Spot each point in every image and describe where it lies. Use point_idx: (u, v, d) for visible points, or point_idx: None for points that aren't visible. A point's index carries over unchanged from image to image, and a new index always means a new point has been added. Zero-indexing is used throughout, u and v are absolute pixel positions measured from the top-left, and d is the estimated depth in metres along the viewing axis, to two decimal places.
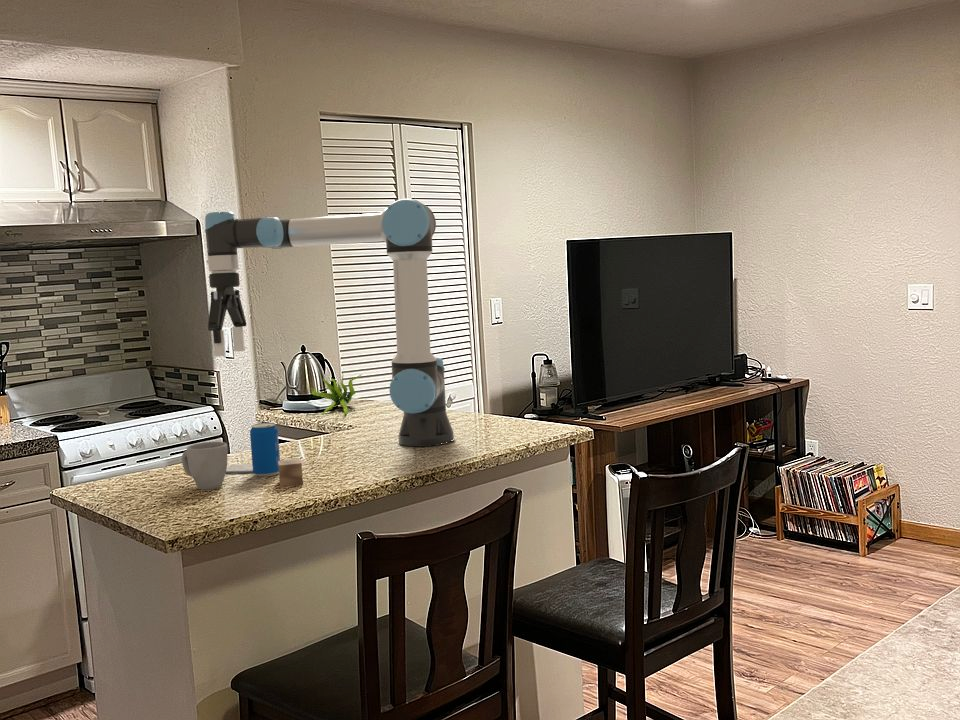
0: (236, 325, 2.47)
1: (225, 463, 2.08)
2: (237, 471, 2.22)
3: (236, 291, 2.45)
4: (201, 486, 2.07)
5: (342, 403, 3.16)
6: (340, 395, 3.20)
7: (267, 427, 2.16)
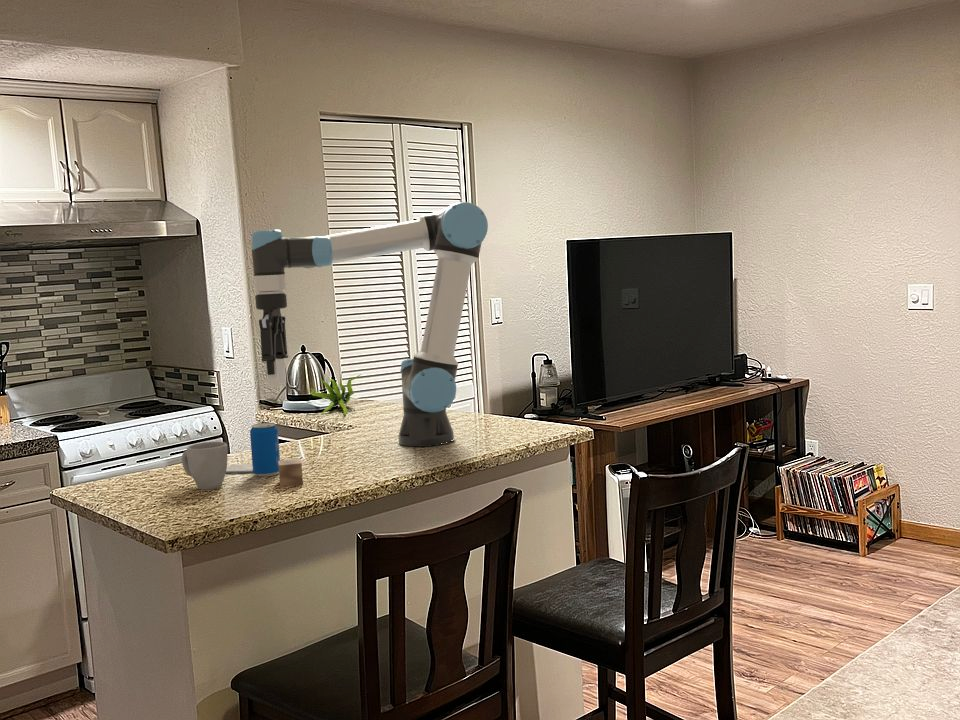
0: (277, 357, 2.32)
1: (225, 463, 2.08)
2: (237, 471, 2.22)
3: (282, 317, 2.34)
4: (201, 486, 2.07)
5: (341, 403, 3.15)
6: (338, 395, 3.19)
7: (267, 427, 2.16)
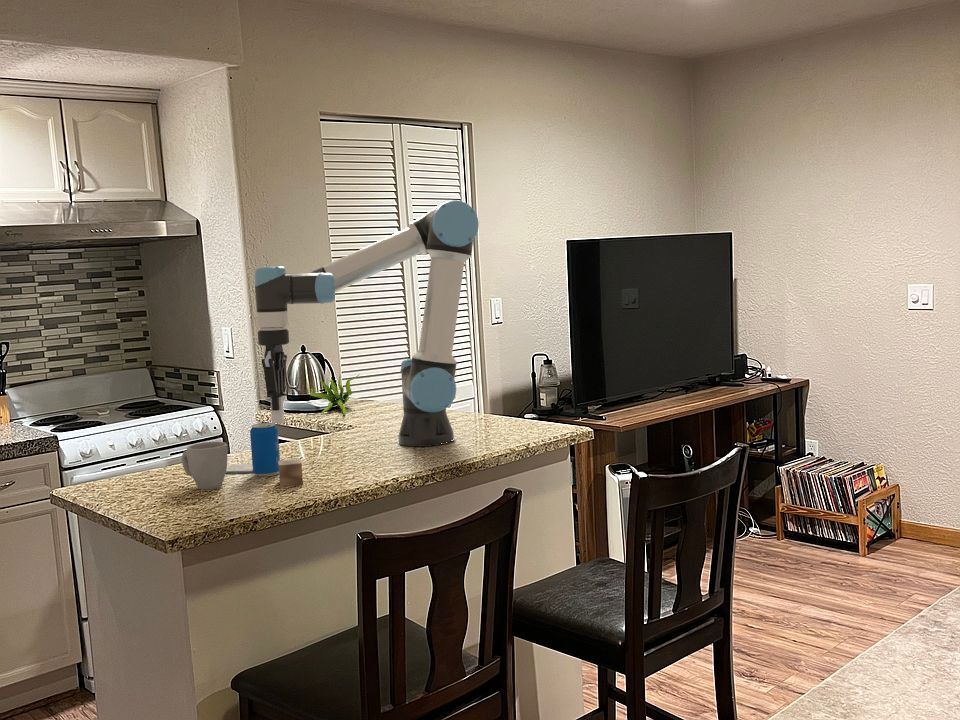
0: None
1: (225, 463, 2.08)
2: (237, 471, 2.22)
3: (284, 355, 2.34)
4: (201, 486, 2.07)
5: (340, 403, 3.15)
6: (337, 396, 3.19)
7: (267, 427, 2.16)
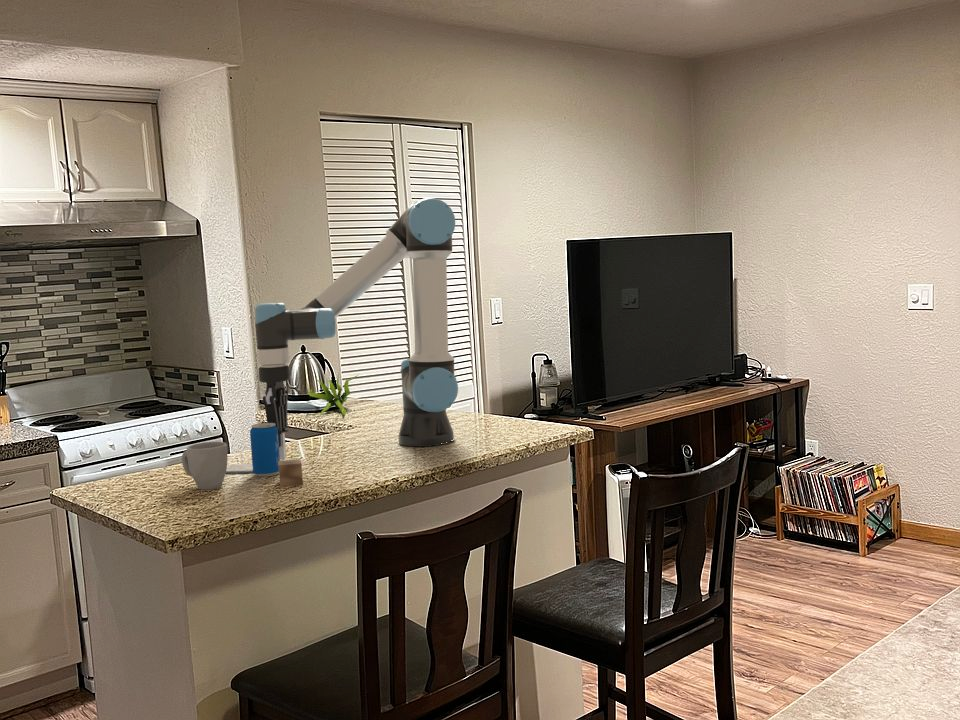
0: None
1: (225, 463, 2.08)
2: (237, 471, 2.22)
3: (285, 390, 2.34)
4: (201, 486, 2.07)
5: (338, 404, 3.15)
6: (335, 396, 3.18)
7: (267, 427, 2.16)
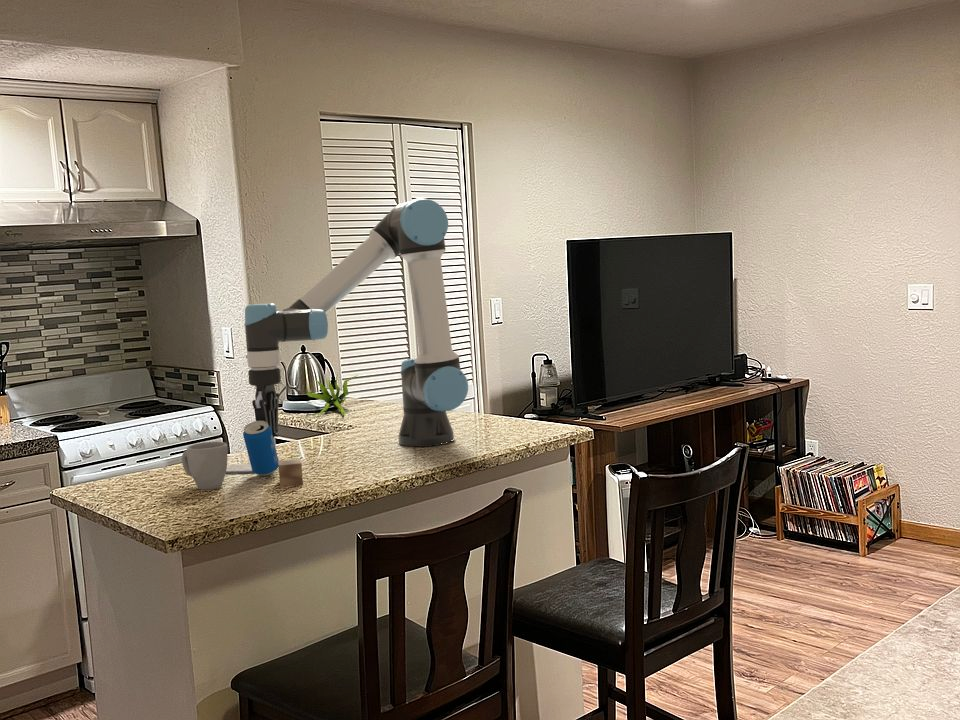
0: None
1: (225, 463, 2.08)
2: (237, 471, 2.22)
3: (276, 393, 2.27)
4: (201, 486, 2.07)
5: (337, 404, 3.14)
6: (334, 396, 3.18)
7: (260, 432, 2.12)
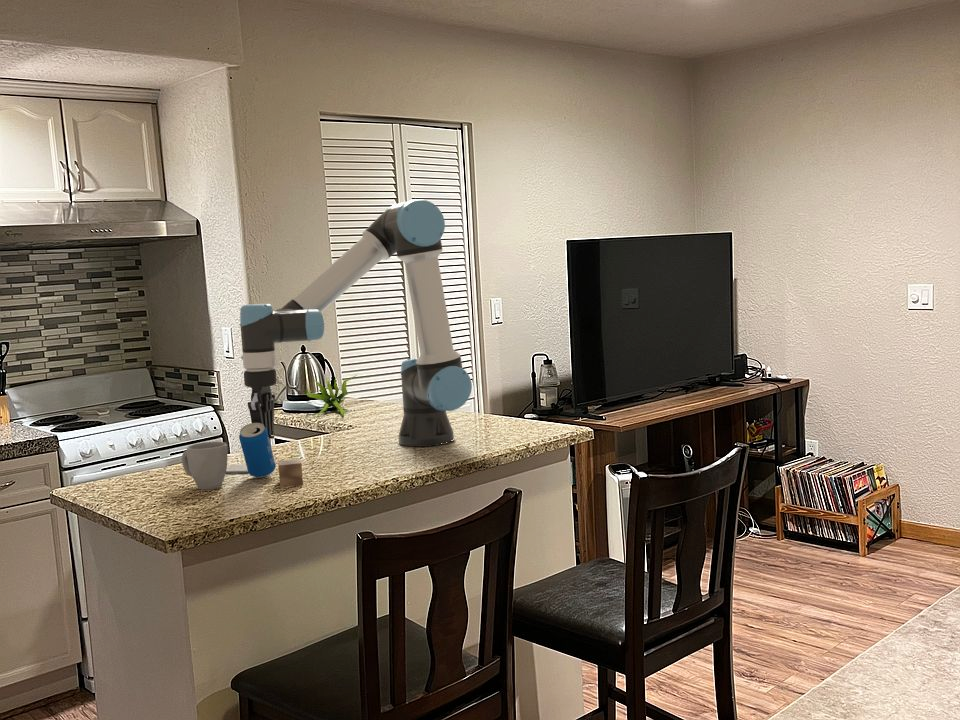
0: None
1: (225, 463, 2.08)
2: (237, 471, 2.22)
3: (272, 395, 2.24)
4: (201, 486, 2.07)
5: (336, 404, 3.14)
6: (333, 396, 3.17)
7: (257, 435, 2.09)
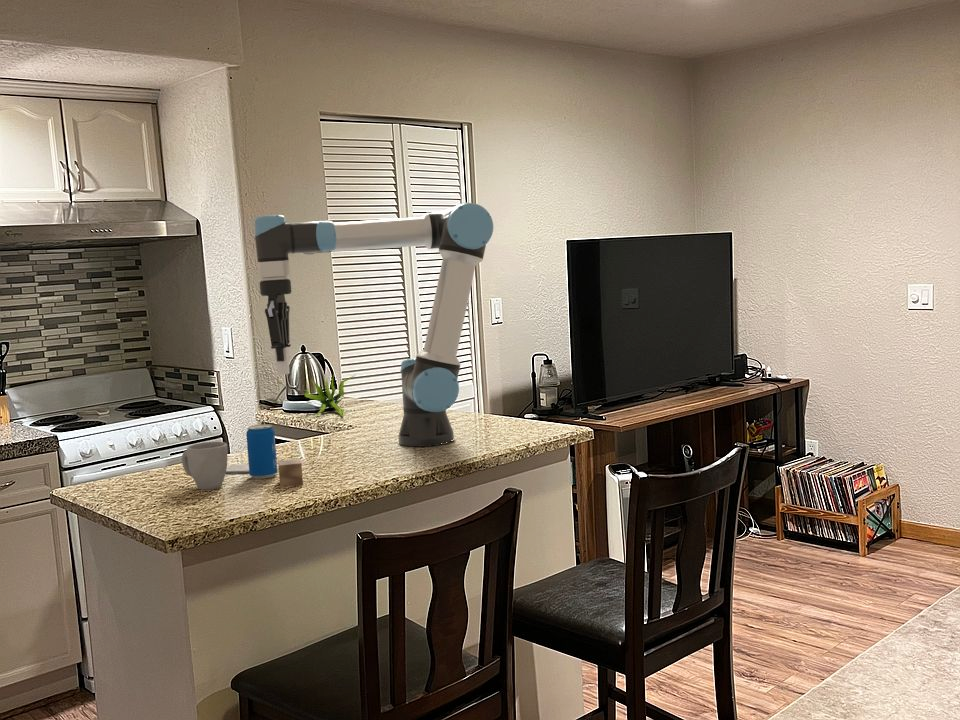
0: None
1: (225, 463, 2.08)
2: (237, 471, 2.22)
3: (287, 306, 2.32)
4: (201, 486, 2.07)
5: (334, 405, 3.13)
6: (330, 397, 3.16)
7: (264, 428, 2.14)
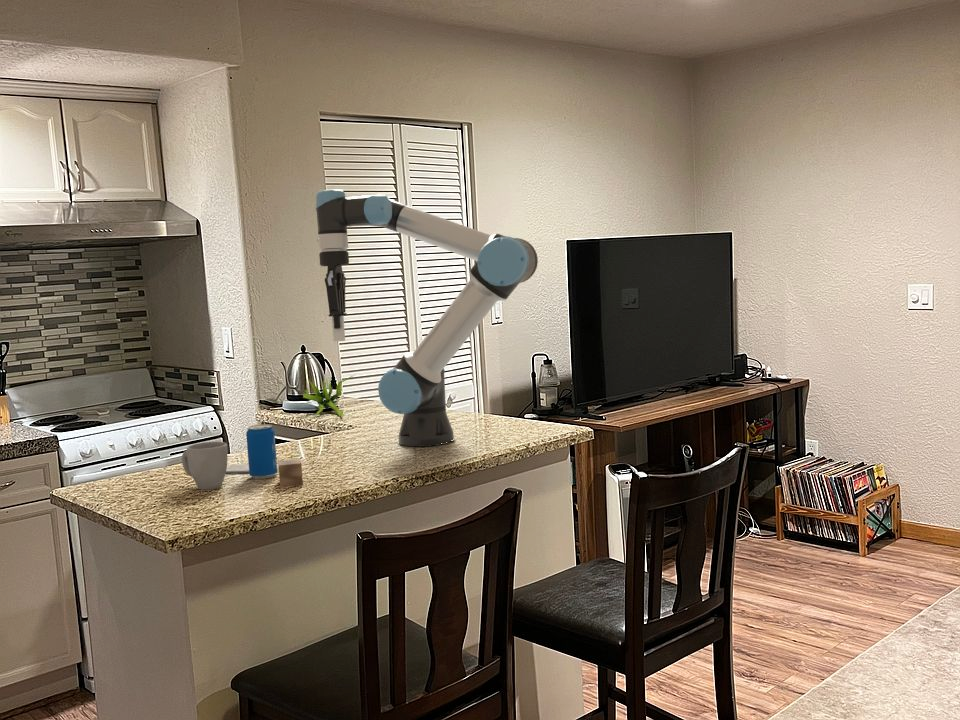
0: None
1: (225, 463, 2.08)
2: (237, 471, 2.22)
3: (343, 277, 2.45)
4: (201, 486, 2.07)
5: (332, 405, 3.12)
6: (328, 397, 3.16)
7: (264, 428, 2.14)
